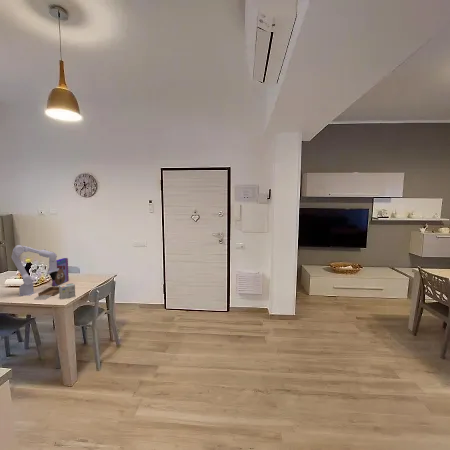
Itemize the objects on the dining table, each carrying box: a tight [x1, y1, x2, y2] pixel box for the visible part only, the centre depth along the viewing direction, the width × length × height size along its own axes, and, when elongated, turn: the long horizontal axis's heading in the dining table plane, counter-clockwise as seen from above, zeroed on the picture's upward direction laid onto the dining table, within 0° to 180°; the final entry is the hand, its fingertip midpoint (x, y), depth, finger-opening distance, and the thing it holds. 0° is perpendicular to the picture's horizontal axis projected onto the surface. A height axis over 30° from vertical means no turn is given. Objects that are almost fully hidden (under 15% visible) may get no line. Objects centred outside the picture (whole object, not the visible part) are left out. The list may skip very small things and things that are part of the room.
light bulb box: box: [58, 282, 76, 300], centre depth 224 cm, size 11×7×11 cm, turn 141°
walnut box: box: [38, 286, 59, 297], centre depth 233 cm, size 13×17×3 cm
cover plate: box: [33, 295, 52, 301], centre depth 221 cm, size 9×8×2 cm
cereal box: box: [51, 257, 70, 287], centre depth 261 cm, size 17×5×24 cm, turn 178°
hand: (53, 279), depth 241 cm, fingers closed
